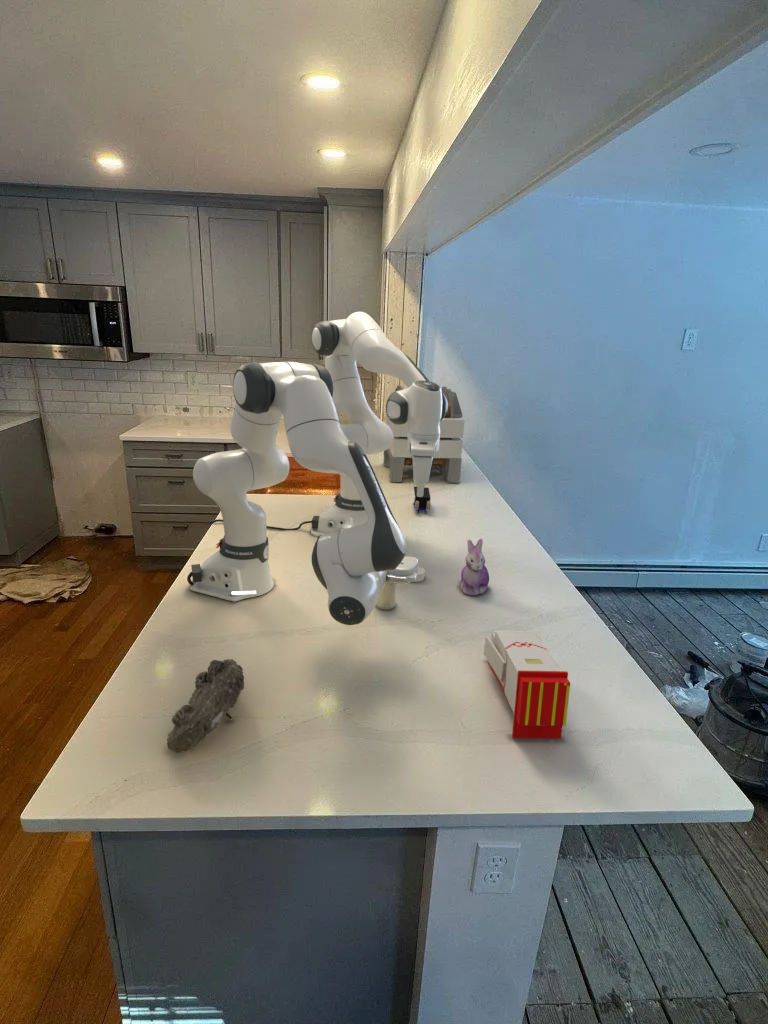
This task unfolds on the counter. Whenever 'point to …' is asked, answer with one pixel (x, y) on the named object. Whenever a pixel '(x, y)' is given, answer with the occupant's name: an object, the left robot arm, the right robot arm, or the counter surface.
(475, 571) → the figurine
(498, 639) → the toy
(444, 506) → the counter surface
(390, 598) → the jar
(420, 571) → the lid
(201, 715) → the fossil
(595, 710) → the counter surface
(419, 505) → the figurine character
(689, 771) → the counter surface
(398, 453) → the transformer
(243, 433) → the left robot arm
